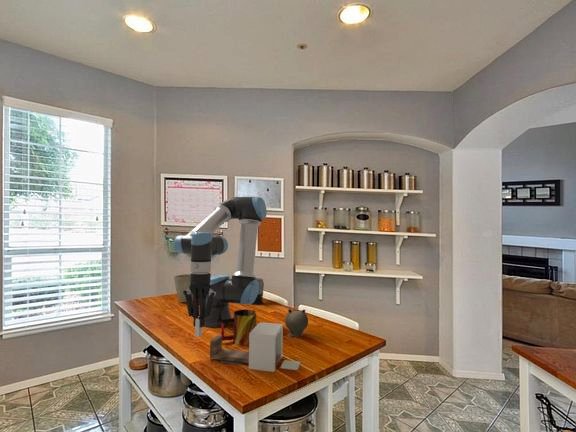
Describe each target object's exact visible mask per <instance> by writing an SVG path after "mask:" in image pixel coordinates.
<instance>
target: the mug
mask: <svg viewBox="0 0 576 432" xmlns="http://www.w3.org/2000/svg"><path fill="white" fill-rule="evenodd" d="M224 323H230V324H232V323H233V329H232V330H233V332H232V333H233V334H232V335H225V326H224ZM256 326H257V311H256V310H253V309H247V308H246V309H244V308H243V309H239V310H238V309H237V310H234V311H233V317H232V318H227V319H222V326H221V332H220V335H221V336H222V342H224V341H232V342H233V343H234V344H235V345H237V346H249V333H250V332H251V331H252V330H253V329H254V328H255V327H256Z"/></svg>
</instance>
